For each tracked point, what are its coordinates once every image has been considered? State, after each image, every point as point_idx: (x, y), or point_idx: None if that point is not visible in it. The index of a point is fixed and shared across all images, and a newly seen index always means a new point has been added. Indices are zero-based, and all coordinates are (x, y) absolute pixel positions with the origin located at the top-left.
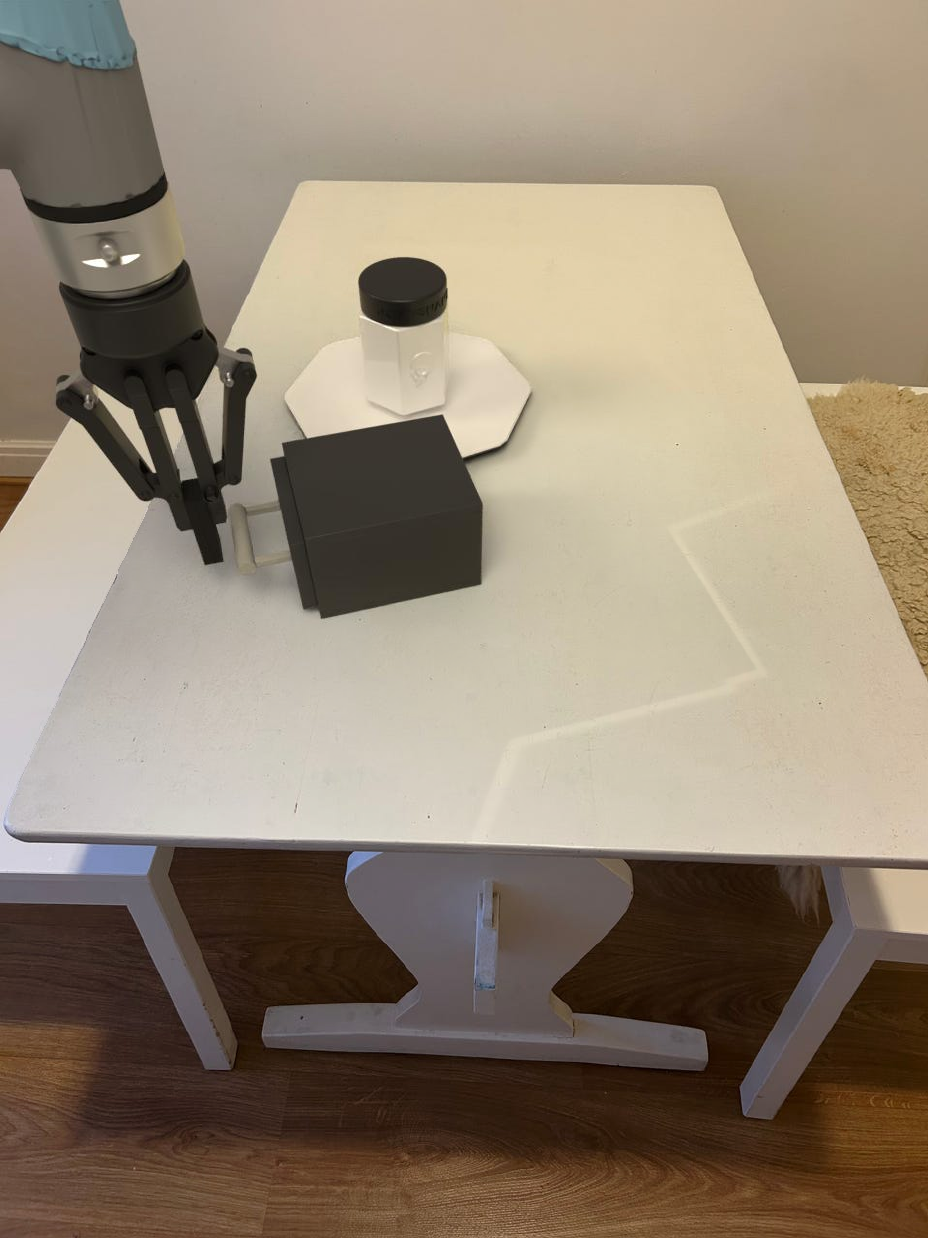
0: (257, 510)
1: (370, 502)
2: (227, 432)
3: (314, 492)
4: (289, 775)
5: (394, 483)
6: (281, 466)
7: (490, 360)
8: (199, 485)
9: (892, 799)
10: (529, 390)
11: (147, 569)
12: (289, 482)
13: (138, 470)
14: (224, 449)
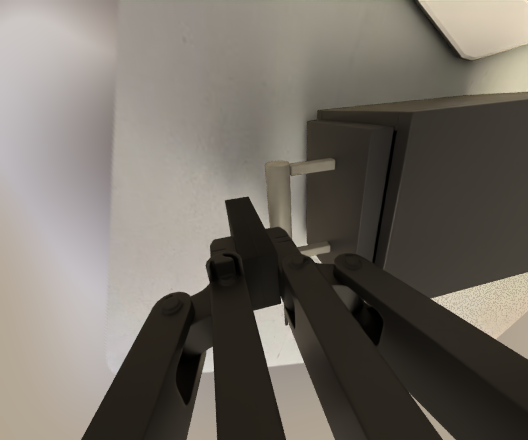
0: (304, 173)
1: (458, 264)
2: (450, 429)
3: (412, 245)
4: (276, 342)
5: (496, 235)
6: (382, 156)
7: None
8: (273, 274)
9: (497, 332)
10: None
11: (137, 158)
12: (382, 197)
13: (188, 423)
14: (383, 348)
